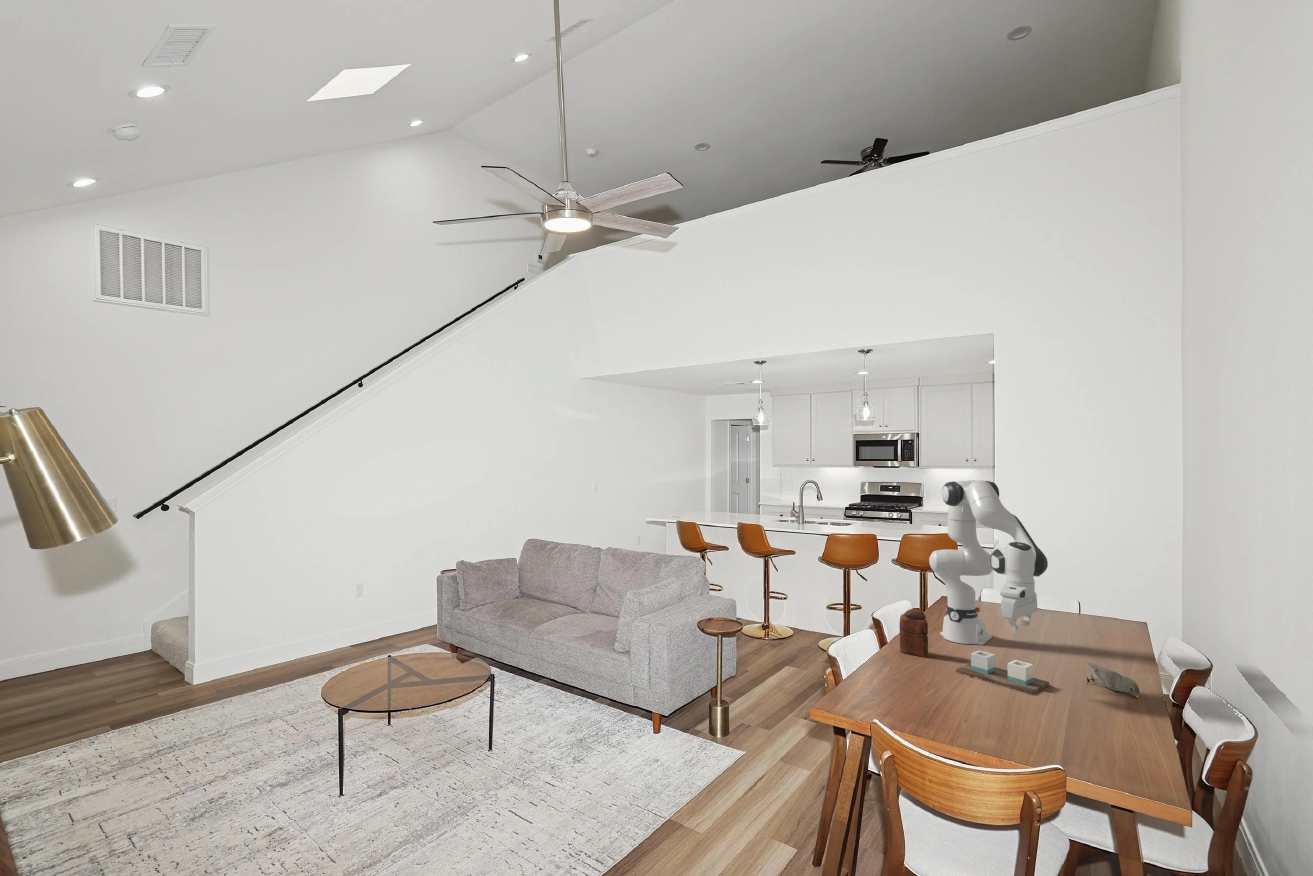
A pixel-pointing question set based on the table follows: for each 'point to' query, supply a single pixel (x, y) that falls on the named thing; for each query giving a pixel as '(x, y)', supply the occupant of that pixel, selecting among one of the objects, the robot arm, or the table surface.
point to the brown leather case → (914, 633)
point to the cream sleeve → (1020, 672)
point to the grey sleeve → (983, 662)
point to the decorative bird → (1113, 680)
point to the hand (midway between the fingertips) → (1020, 628)
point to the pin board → (1004, 679)
